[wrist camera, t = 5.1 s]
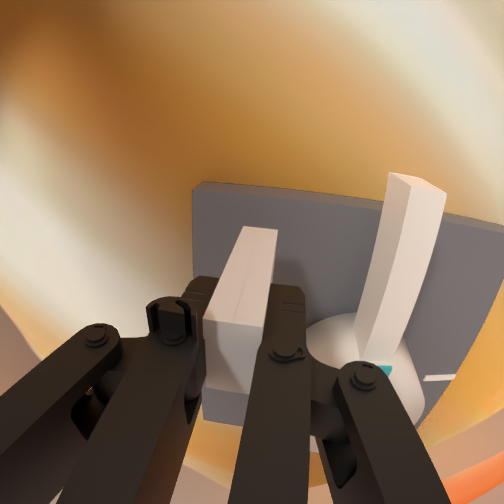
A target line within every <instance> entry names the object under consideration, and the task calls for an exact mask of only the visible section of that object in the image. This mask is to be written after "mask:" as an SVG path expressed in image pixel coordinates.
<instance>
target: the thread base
mask: <svg viewBox="0 0 504 504" xmlns="http://www.w3.org/2000/svg"><path fill="white" fill-rule="evenodd" d="M383 204H384V202H382V201H376V200H369V199H363V198H356V197H349V196H342V195H334V194H326V193H318V192H310V191H302V190H293V189H283V188H273V187H263V186H252V185H240V184H228V183H214V182H202V183H201V184H199V185H198V186H197V187H196V188H194V189H193V190H192V238H193V275H194V279H195V278H197V277H198V276H200V275H201V276H209V277H216V278H220V277H221V275H222V273H223V271H224V268H225V266H226V264H227V262H228V259H229V257H230V255H231V253H232V250H233V248H234V246H235V244H236V241H237V239H238V237H239V235H240V233H241V230H242V228H243V226H248V227H257V228H266V229H275V230H278V234H277V244H276V253H275V262H274V271H273V280H272V283H273V284H281V285H290V286H299V287H300V289H301V290H302V291H303V293H304V294H305V307H306V329H307V328H308V327H310V326H311V325H313V324H315V323H317V322H319V321H321V320H323V319H326V318H328V317H332V316H335V315H339V314H345V313H357V311H358V307H359V304H360V300H361V297H362V293H363V290H364V286H365V282H366V279H367V275H368V271H369V267H370V263H371V259H372V255H373V251H374V246H375V242H376V237H377V233H378V228H379V224H380V219H381V214H382V209H383ZM503 278H504V226H503V225H499V224H495V223H491V222H486V221H482V220H477V219H473V218H468V217H464V216H459V215H454V214H449V213H444V212H443V215H442V219H441V223H440V227H439V230H438V234H437V238H436V241H435V245H434V248H433V252H432V255H431V259H430V262H429V265H428V268H427V271H426V274H425V277H424V280H423V283H422V286H421V289H420V292H419V295H418V297H417V300H416V303H415V305H414V308H413V311H412V313H411V316H410V318H409V321H408V323H407V326H406V328H405V331H404V333H403V338H404V340H405V343H406V346H407V348H408V351H409V354H410V356H411V359H412V362H413V365H414V368H415V371H416V373H417V376H418V379H419V382H420V385H421V388H422V391H423V395H424V399H425V406H424V410H423V413H422V415H421V417H420V418H419V420H418V421H417V422H416V423H415V425H414V427H415V429H417V428H418V427H419V425H420V424H421V423H422V422H423V420H424V419H425V418H426V416H427V415H428V414H429V412H430V411H431V410H432V408H433V407H434V405H435V404H436V403H437V401H438V400H439V398H440V397H441V395H442V394H443V392H444V391H445V389H446V388H447V386H448V385H449V383H450V382H451V380H453V379H454V378H455V376H456V372H457V371H458V369H459V367H460V366H461V364H462V362H463V361H464V359H465V357H466V355H467V354H468V352H469V350H470V348H471V347H472V345H473V343H474V341H475V339H476V337H477V335H478V333H479V332H480V330H481V328H482V326H483V324H484V322H485V319H486V317H487V315H488V313H489V311H490V309H491V307H492V305H493V302H494V300H495V298H496V295H497V293H498V291H499V288H500V286H501V283H502V281H503ZM248 399H249V394H242V393H236V392H229V391H223V390H217V389H212V388H206V382H205V380H204V383H203V386H202V409H203V418H204V420H208V421H213V422H219V423H224V424H231V425H237V426H243V425H244V420H245V415H246V410H247V404H248Z"/></svg>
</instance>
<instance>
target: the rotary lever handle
mask: <svg viewBox="0 0 504 504" xmlns="http://www.w3.org/2000/svg"><path fill="white" fill-rule="evenodd" d="M446 197H447V193H445V192H443V191H442V190H440V189H438V188H437V187H435V186H433V185H432V184H430V183H428V182H427V181H425V180H423V179H421V178H418V177H414V176H409V175H404V174H399V173H393V172H389V175H388V181H387V187H386V193H385V198H384V204H383V209H382V214H381V219H380V224H379V228H378V233H377V237H376V242H375V246H374V251H373V255H372V259H371V263H370V267H369V271H368V275H367V279H366V282H365V286H364V290H363V293H362V297H361V300H360V304H359V307H358V311H357V313H345V314H339V315H335V316H332V317H328V318H326V319H323V320H321V321H319V322H317V323H315V324H313V325H311V326H310V327H308V328H307V329H306V344H307V348H308V350H309V352H310V354H311V355H312V356H313V357H314V358H315V359H317V360H318V361H320V362H321V363H324V364H326V365H328V366H332V367H335V368H338V369H340V368H341V367H343V366H344V365H345V364H346V363H349V362H352V361H366V362H370V363H373V364H375V365H376V366H378V367H380V368H381V369H382V370H383V371H384V372H385V374H386V375H387V376H388V378H389V380H390V382H391V384H392V385H393V387H394V389H395V391H396V393H397V395H398V396H399V398H400V400H401V402H402V404H403V406H404V408H405V410H406V411H407V413H408V415H409V417H410V419H411V421H412V423H413V425H415V423H416V422H417V421H418V420H419V418H420V417H421V415H422V413H423V410H424V406H425V399H424V395H423V391H422V388H421V385H420V382H419V379H418V376H417V373H416V371H415V368H414V365H413V362H412V359H411V356H410V354H409V351H408V348H407V346H406V343H405V340H404V338H403V333H404V331H405V328H406V326H407V323H408V321H409V318H410V316H411V313H412V311H413V308H414V305H415V303H416V300H417V297H418V295H419V292H420V289H421V286H422V283H423V280H424V277H425V274H426V271H427V268H428V265H429V262H430V259H431V255H432V252H433V248H434V245H435V241H436V238H437V234H438V230H439V227H440V223H441V219H442V215H443V210H444V206H445V202H446ZM310 451H311V452H315V453H319V451H318V447H317V444H316V440H315V437H314V436H311V435H310Z"/></svg>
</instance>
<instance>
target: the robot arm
mask: <svg viewBox="0 0 504 504" xmlns="http://www.w3.org/2000/svg"><path fill="white" fill-rule="evenodd" d="M277 234H278V230H275V229H266V228H257V227H248V226H243V228H242V230H241V233H240V235H239V237H238V239H237V241H236V244H235V246H234V248H233V250H232V253H231V255H230V257H229V259H228V262H227V264H226V266H225V268H224V271H223V273H222V275H221V277H220V278H216V277H209V276H201V275H200V276H198V277H197V278H195V279H194V280H192V281H191V282H190V283H189V285H188V286H187V288H186V290H185V292H184V293H183V295H182V297H171V296H168V297H163V298H158V299H156V300H154V301H152V302H150V303H149V304H148V305H147V306H146V313H147V319H148V325H149V331H150V332H149V334H148V336H146V337H138V338H120V335H119V333H118V330H117V329H116V328H114V327H113V326H112V325H108V324H105V323H96V324H92V325H89V326H87V327H85V328H83V329H81V330H80V331H79V332H77V333H76V334H75V335H74V336H72V337H71V338H70V339H69V340H67V341H66V342H65V343H64V344H62V345H61V346H60V347H59V348H57V349H56V350H55V351H54V352H53V353H51V354H50V355H49V356H48V357H46V358H45V359H44V360H43V361H42V362H40V363H39V364H38V365H37V366H36V367H35V368H33V369H32V370H31V371H30V372H28V373H27V374H26V375H25V376H24V377H22V378H21V379H20V380H19V381H18V382H17V383H15V384H14V385H13V386H12V387H11V388H9V389H8V390H7V391H6V392H5V393H4V394H3V395H1V396H0V504H49V503H50V502H51V501H52V500H53V499H54V498H55V496H56V495H57V494H58V493H59V492H60V491H61V490H62V489H63V490H62V492H61V494H60V496H59V498H58V500H57V503H56V504H170V501H171V497H172V494H173V491H174V488H175V485H176V481H177V478H178V475H179V472H180V469H181V466H182V463H183V459H184V456H185V453H186V450H187V447H188V443H189V440H190V437H191V434H192V431H193V428H194V424H195V421H196V418H197V415H198V412H199V409H200V405H201V402H202V386H203V383H204V380H205V382H206V388H212V389H217V390H223V391H229V392H236V393H242V394H249V399H248V404H247V410H246V415H245V420H244V425H243V430H242V435H241V441H240V446H239V451H238V456H237V461H236V465H235V470H234V475H233V480H232V485H231V490H230V494H229V499H228V504H307V501H308V483H309V459H310V435H311V436H314V437H315V440H316V444H317V447H318V451H319V454H320V458H321V461H322V465H323V468H324V472H325V475H326V479H327V482H328V486H329V489H330V493H331V497H332V500H333V504H451V502H450V499H449V497H448V495H447V493H446V491H445V488H444V486H443V484H442V482H441V480H440V478H439V476H438V473H437V471H436V469H435V467H434V465H433V463H432V461H431V459H430V457H429V455H428V453H427V451H426V449H425V447H424V445H423V443H422V441H421V439H420V437H419V435H418V433H417V431H416V429H415V427H414V425H413V423H412V421H411V419H410V417H409V415H408V413H407V411H406V410H405V408H404V406H403V404H402V402H401V400H400V398H399V396H398V395H397V393H396V391H395V389H394V387H393V385H392V384H391V382H390V380H389V378H388V376H387V375H386V374H385V372H384V371H383V370H382V369H381V368H380V367H378V366H376V365H375V364H373V363H370V362H366V361H352V362H349V363H346V364H345V365H344V366H343V367H341V368H340V369H338V368H335V367H332V366H328V365H326V364H324V363H321V362H320V361H318V360H317V359H315V358H314V357H313V356H312V355H311V354H310V352H309V350H308V348H307V344H306V307H305V294H304V293H303V291H302V290H301V289H300V287H299V286H290V285H281V284H273V283H272V280H273V271H274V262H275V253H276V244H277ZM91 387H92V388H91ZM90 388H91V389H90ZM89 389H90V390H89Z"/></svg>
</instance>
